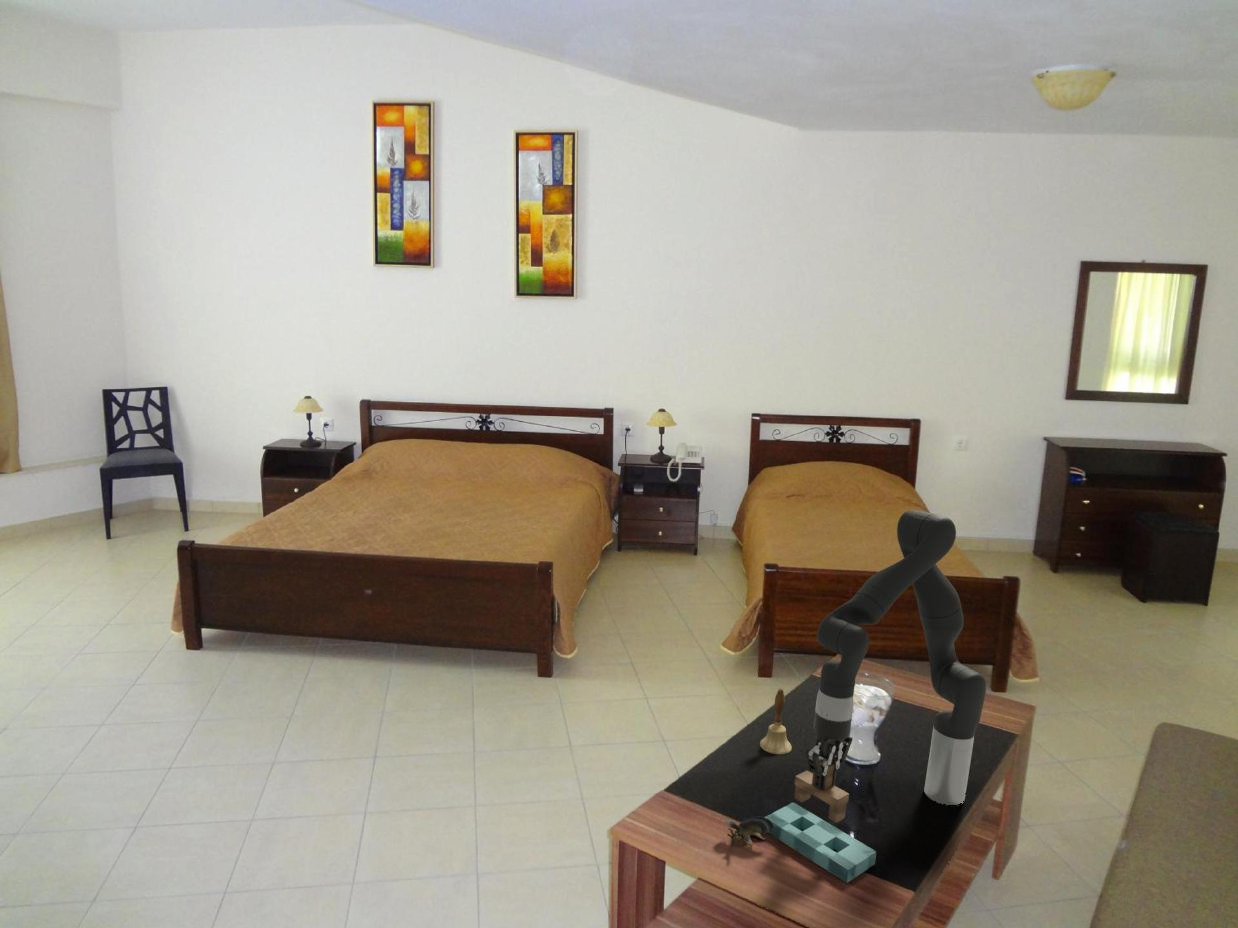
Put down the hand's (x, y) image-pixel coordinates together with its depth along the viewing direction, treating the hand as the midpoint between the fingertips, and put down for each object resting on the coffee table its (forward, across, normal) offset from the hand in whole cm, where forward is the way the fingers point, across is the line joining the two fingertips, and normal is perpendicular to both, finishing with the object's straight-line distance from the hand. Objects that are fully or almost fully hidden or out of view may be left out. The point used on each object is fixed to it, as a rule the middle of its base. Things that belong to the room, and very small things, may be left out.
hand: (824, 785), depth 188 cm
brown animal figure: (+15, -11, +10) cm, 21 cm away
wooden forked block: (+6, 0, +1) cm, 6 cm away
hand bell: (+15, +26, +33) cm, 44 cm away
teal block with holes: (+14, 0, 0) cm, 14 cm away
